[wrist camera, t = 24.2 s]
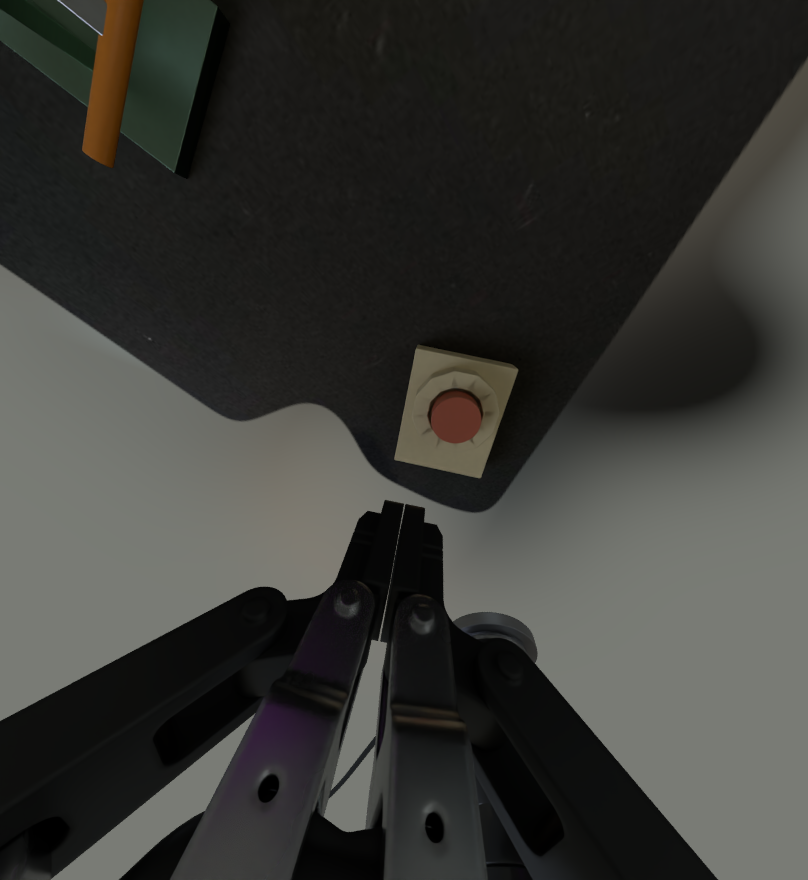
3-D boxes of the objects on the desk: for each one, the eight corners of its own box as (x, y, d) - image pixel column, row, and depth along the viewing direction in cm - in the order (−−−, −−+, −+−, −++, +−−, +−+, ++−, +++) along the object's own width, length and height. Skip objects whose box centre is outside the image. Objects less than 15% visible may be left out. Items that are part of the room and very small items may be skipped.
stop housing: (477, 466, 29) (483, 490, 25) (397, 449, 29) (391, 470, 25) (512, 364, 25) (525, 374, 21) (417, 344, 25) (414, 351, 21)
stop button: (471, 438, 24) (473, 448, 22) (427, 429, 24) (426, 438, 22) (484, 396, 22) (488, 403, 21) (437, 386, 22) (437, 392, 21)
